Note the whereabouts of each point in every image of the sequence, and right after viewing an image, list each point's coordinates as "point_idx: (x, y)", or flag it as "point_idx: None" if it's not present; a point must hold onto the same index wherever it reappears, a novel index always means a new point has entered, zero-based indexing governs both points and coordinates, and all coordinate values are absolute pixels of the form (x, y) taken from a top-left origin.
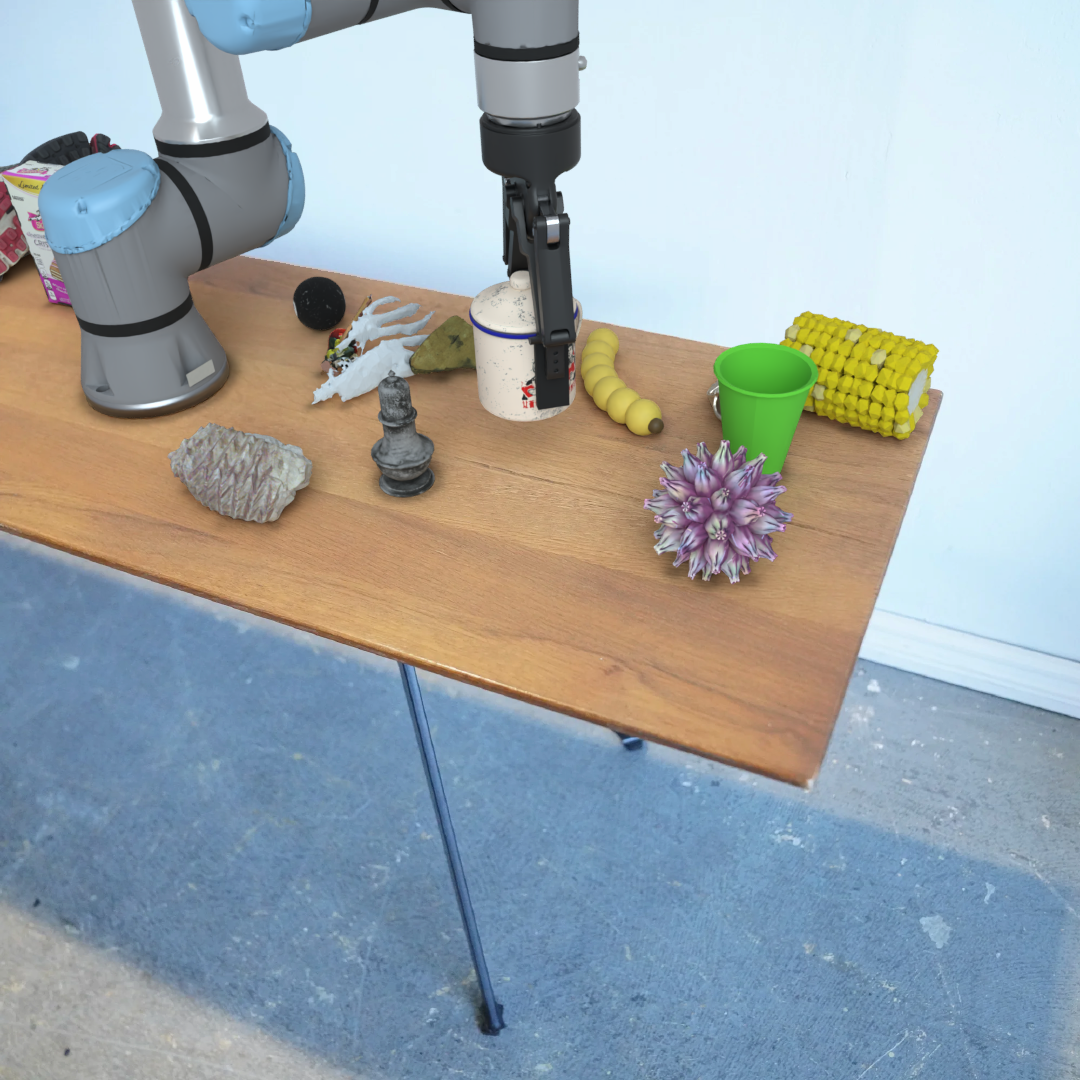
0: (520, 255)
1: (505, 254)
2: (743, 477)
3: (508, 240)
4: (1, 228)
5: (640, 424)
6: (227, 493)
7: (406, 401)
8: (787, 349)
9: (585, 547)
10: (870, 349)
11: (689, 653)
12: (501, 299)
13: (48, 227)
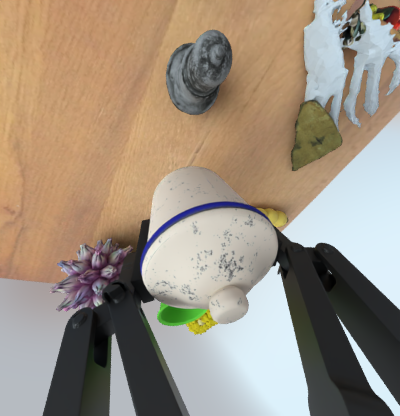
0: (296, 297)
1: (328, 258)
2: None
3: (345, 285)
4: None
5: None
6: None
7: (195, 81)
8: (199, 315)
9: (118, 202)
10: (204, 322)
11: (40, 241)
12: (203, 270)
13: None
